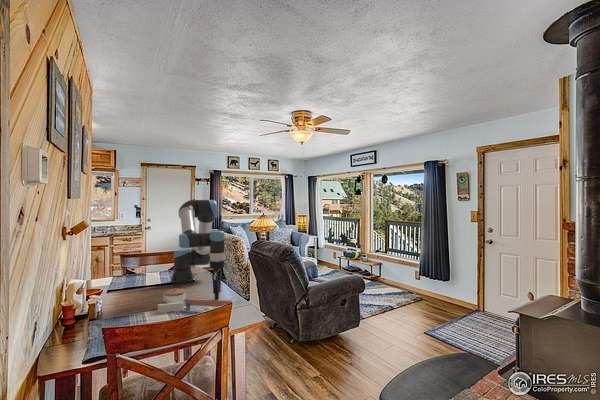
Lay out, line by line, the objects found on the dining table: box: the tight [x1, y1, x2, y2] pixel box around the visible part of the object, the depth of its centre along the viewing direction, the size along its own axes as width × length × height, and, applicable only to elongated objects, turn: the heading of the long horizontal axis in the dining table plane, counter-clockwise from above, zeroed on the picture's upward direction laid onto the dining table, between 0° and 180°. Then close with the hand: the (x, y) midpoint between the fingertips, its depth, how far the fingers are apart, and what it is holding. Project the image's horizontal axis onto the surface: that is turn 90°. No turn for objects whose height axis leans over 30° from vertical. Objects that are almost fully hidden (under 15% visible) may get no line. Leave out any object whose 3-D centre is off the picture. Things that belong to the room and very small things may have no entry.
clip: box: [184, 297, 233, 307], centre depth 159 cm, size 25×3×3 cm, turn 84°
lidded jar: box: [163, 287, 186, 304], centre depth 166 cm, size 11×11×9 cm
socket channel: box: [157, 291, 191, 314], centre depth 166 cm, size 20×16×4 cm
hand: (217, 304), depth 160 cm, fingers closed
